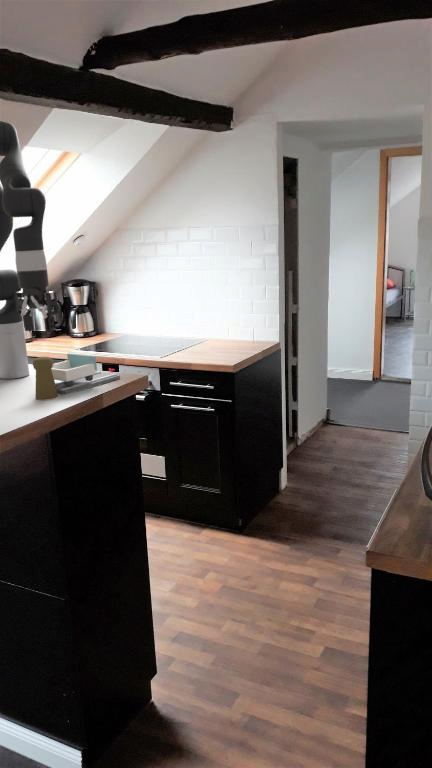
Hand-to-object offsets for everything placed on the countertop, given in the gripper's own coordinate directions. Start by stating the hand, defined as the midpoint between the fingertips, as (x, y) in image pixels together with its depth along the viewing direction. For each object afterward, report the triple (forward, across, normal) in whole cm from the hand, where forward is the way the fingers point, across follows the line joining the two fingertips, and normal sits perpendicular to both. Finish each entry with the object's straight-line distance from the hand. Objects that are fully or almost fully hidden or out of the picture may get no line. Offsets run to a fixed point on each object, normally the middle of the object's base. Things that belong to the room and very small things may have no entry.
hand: (39, 331), depth 159 cm
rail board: (+18, +2, -14) cm, 23 cm away
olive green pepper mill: (+18, 0, 0) cm, 18 cm away
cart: (+16, +2, -10) cm, 19 cm away
